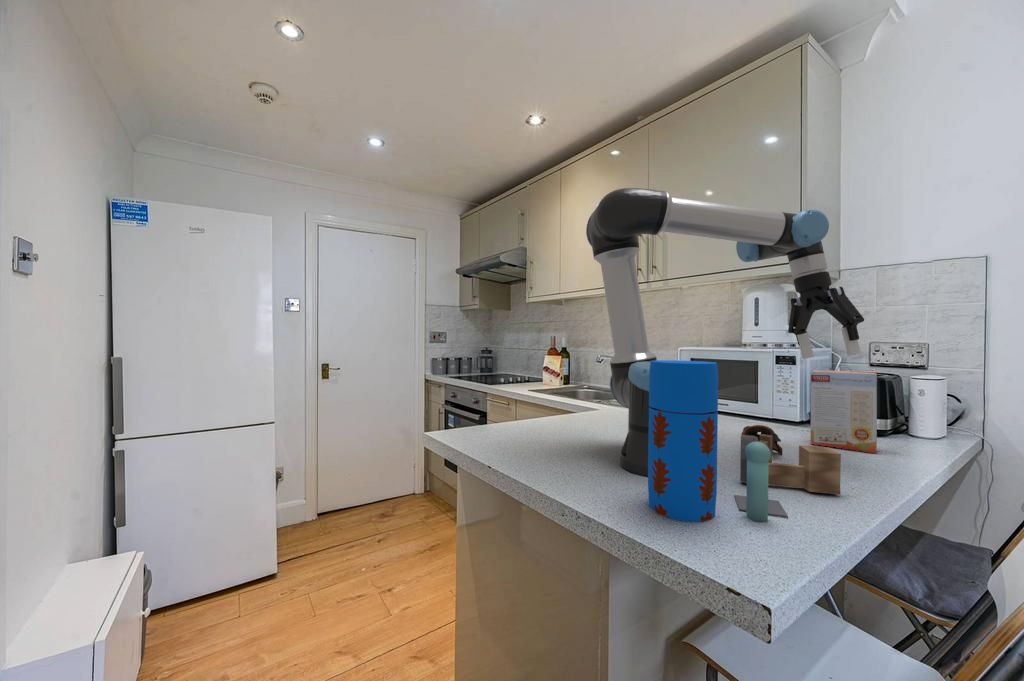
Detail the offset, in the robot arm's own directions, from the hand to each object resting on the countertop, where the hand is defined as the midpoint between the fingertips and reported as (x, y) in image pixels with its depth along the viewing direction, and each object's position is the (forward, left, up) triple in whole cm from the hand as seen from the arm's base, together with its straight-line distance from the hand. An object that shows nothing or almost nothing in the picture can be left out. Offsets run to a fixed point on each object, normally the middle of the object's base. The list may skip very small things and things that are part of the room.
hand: (829, 356), depth 103 cm
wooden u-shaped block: (-1, -34, -25) cm, 42 cm away
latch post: (-1, -54, -25) cm, 60 cm away
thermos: (-11, -60, -25) cm, 66 cm away
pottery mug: (-13, -10, -25) cm, 30 cm away
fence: (-7, -30, -25) cm, 40 cm away
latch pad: (-2, -49, -25) cm, 55 cm away
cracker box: (+1, +14, -25) cm, 29 cm away
